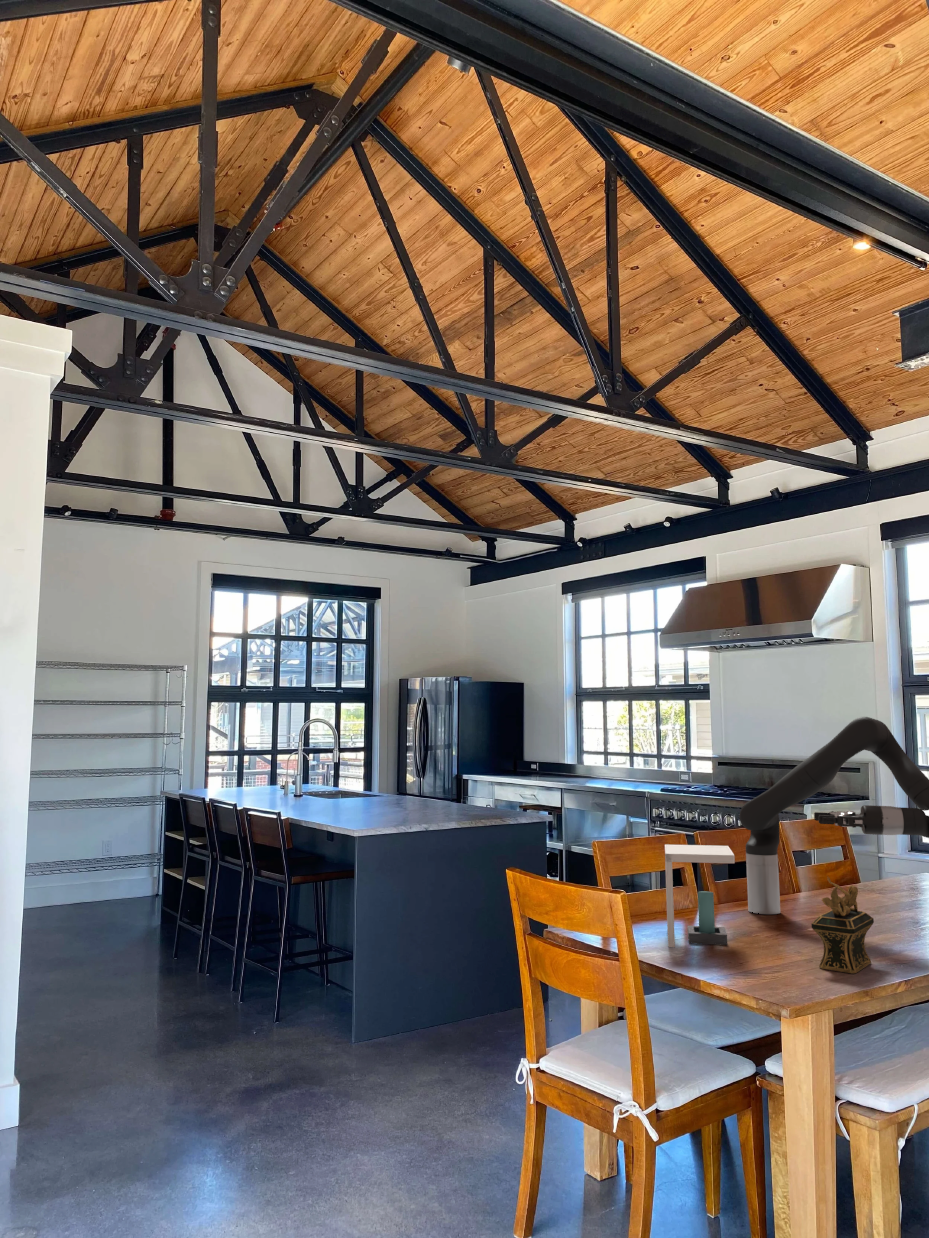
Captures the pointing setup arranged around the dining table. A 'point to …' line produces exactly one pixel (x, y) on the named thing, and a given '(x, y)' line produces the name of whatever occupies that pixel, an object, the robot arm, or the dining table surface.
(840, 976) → the dining table surface
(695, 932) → the socket
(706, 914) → the peg
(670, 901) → the white inverted l bracket
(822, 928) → the decorative box
